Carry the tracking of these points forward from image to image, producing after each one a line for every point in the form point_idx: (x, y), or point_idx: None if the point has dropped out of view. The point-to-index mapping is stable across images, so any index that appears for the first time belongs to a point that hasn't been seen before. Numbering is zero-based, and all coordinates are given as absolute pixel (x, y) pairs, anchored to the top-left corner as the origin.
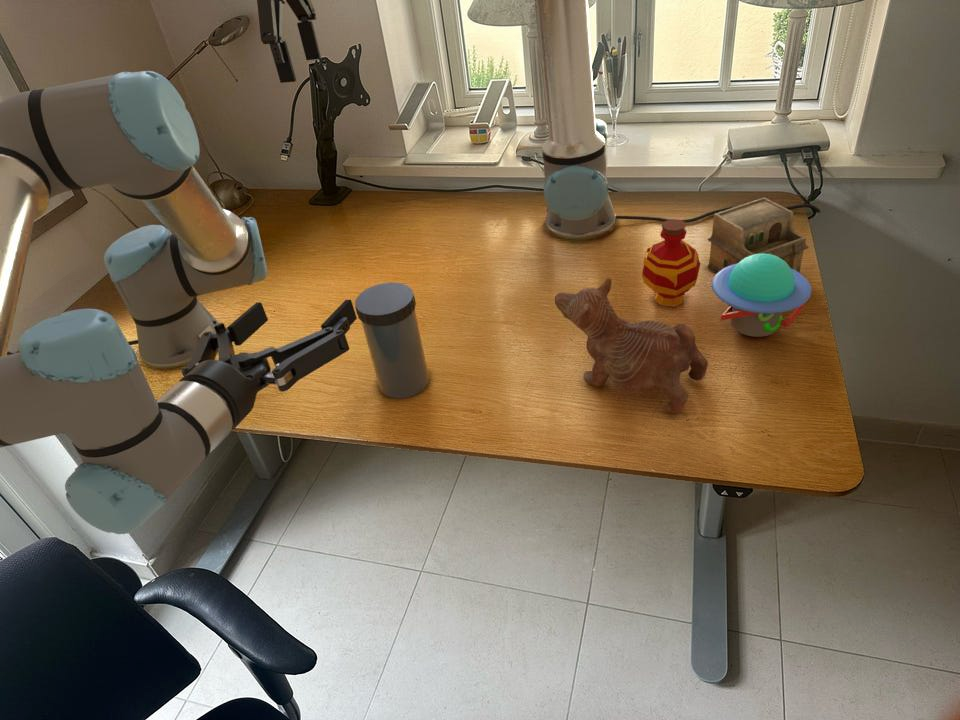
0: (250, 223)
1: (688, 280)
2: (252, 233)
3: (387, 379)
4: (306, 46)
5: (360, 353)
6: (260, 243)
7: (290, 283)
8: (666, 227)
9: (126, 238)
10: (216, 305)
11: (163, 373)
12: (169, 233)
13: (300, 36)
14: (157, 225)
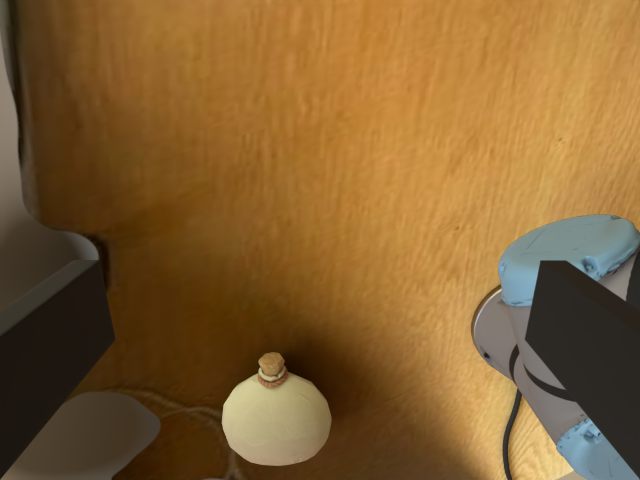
0: (616, 261)
1: None
2: (636, 246)
3: None
4: (65, 370)
5: (600, 44)
6: (628, 227)
7: (378, 231)
8: None
9: (617, 469)
10: (428, 320)
11: None
12: (309, 454)
13: (22, 450)
14: (599, 437)
